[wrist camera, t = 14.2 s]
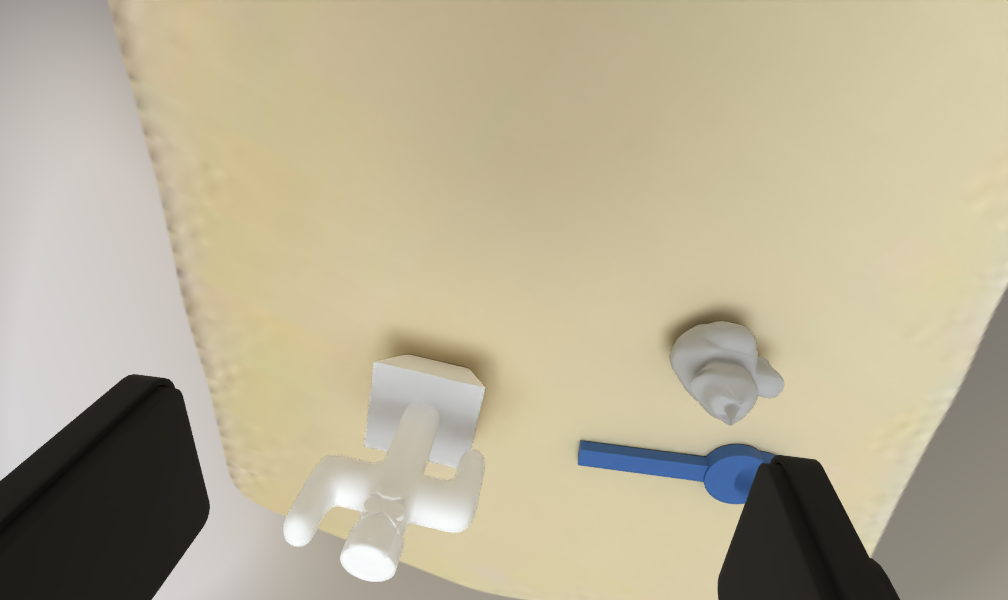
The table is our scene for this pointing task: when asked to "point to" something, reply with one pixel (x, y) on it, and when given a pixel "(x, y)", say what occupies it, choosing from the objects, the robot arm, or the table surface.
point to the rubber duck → (724, 369)
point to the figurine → (400, 465)
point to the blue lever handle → (684, 466)
